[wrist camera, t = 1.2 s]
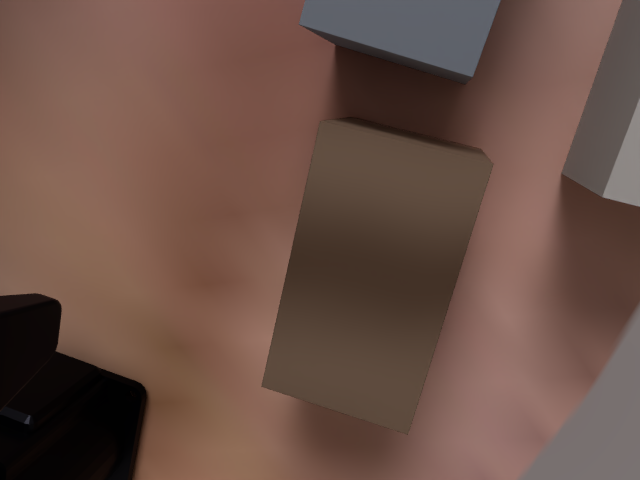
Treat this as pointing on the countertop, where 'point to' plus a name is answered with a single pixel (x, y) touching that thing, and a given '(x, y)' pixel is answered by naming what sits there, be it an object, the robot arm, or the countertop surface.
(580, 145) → the cream brick
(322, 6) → the slate brick
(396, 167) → the walnut brick
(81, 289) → the countertop surface
